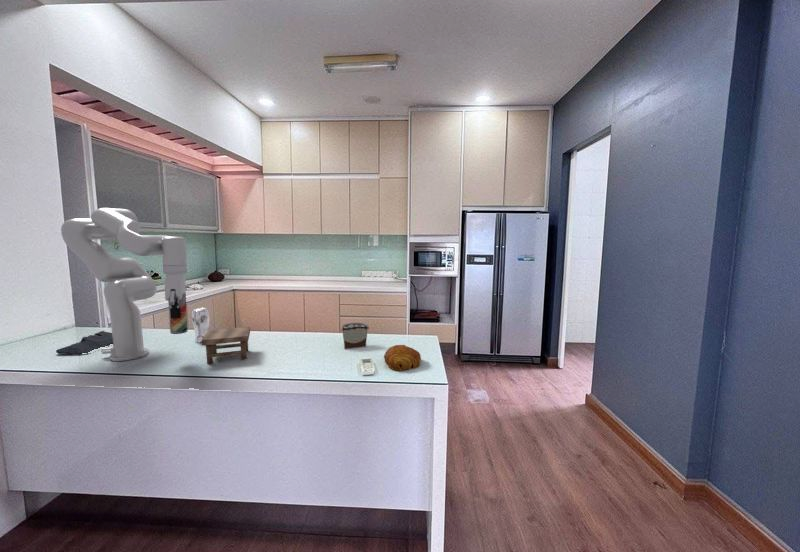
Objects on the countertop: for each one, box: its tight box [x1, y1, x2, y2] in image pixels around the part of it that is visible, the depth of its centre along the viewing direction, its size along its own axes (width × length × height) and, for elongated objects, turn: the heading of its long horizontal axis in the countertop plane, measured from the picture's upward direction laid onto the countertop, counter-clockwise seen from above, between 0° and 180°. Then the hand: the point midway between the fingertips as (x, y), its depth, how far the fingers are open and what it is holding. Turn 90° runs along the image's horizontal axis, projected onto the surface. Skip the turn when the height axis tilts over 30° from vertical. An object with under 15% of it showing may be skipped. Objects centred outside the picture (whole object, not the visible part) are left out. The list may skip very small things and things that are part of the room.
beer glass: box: [191, 307, 210, 344], centre depth 156 cm, size 7×7×15 cm
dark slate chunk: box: [55, 330, 113, 355], centre depth 148 cm, size 15×22×5 cm
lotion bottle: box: [167, 292, 189, 335], centre depth 129 cm, size 6×6×20 cm
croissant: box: [383, 344, 422, 372], centre depth 131 cm, size 14×16×8 cm
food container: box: [340, 322, 370, 350], centre depth 151 cm, size 12×6×10 cm, turn 108°
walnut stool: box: [201, 326, 251, 365], centre depth 136 cm, size 16×14×10 cm
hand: (178, 315), depth 129 cm, fingers closed on lotion bottle, 5 cm apart
